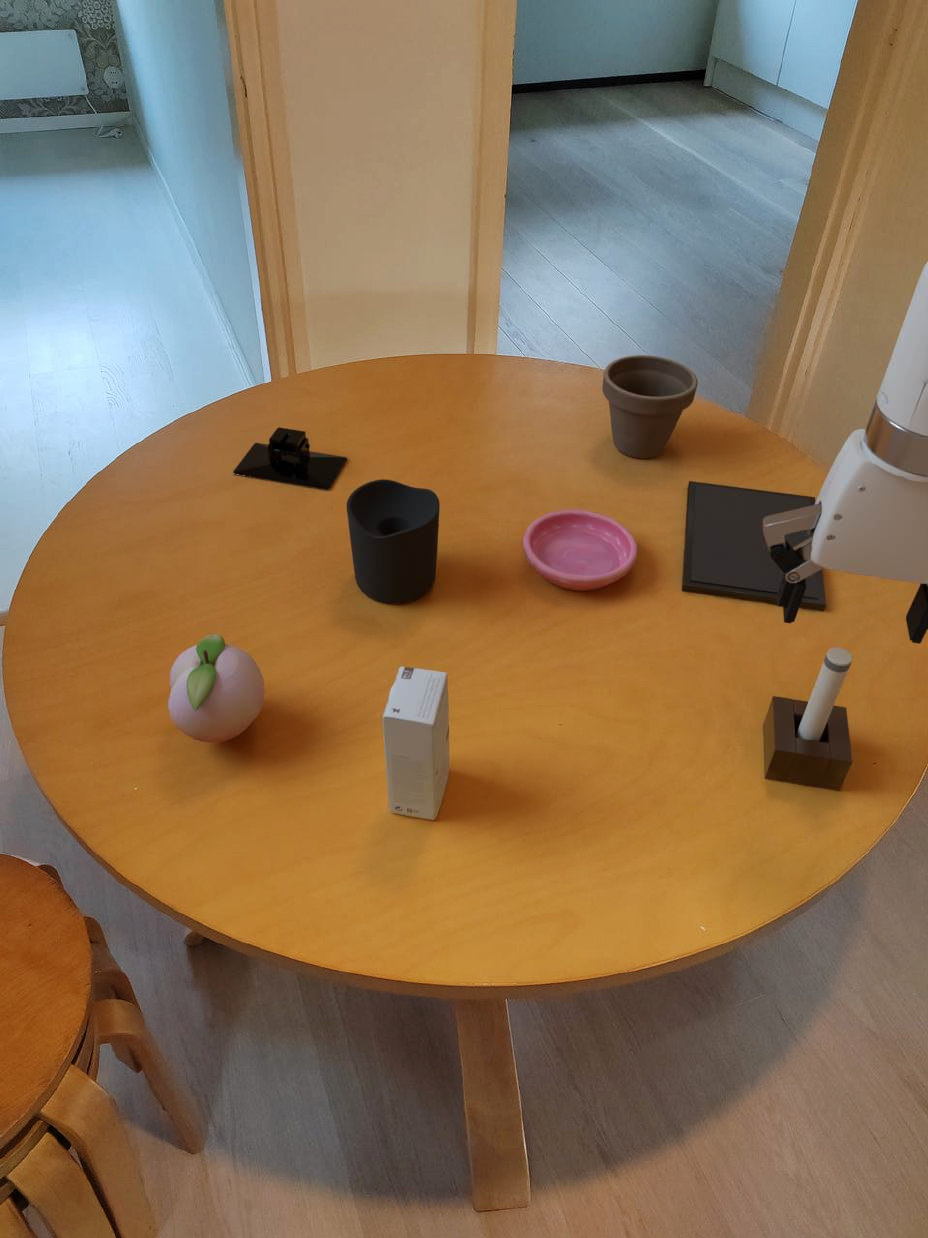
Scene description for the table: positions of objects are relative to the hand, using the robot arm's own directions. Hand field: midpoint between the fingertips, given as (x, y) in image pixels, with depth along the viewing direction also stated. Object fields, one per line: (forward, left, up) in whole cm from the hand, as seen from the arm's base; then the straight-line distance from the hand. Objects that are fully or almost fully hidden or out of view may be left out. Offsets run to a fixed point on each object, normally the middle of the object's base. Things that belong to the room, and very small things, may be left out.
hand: (849, 621), depth 78 cm
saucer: (+23, -23, -17) cm, 37 cm away
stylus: (0, 0, -17) cm, 17 cm away
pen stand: (0, 0, -17) cm, 17 cm away
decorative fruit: (+52, +8, -17) cm, 55 cm away
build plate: (+60, -34, -17) cm, 71 cm away
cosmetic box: (+33, +11, -17) cm, 38 cm away
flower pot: (+18, -49, -17) cm, 55 cm away
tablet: (+4, -31, -17) cm, 36 cm away
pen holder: (+42, -16, -17) cm, 48 cm away
